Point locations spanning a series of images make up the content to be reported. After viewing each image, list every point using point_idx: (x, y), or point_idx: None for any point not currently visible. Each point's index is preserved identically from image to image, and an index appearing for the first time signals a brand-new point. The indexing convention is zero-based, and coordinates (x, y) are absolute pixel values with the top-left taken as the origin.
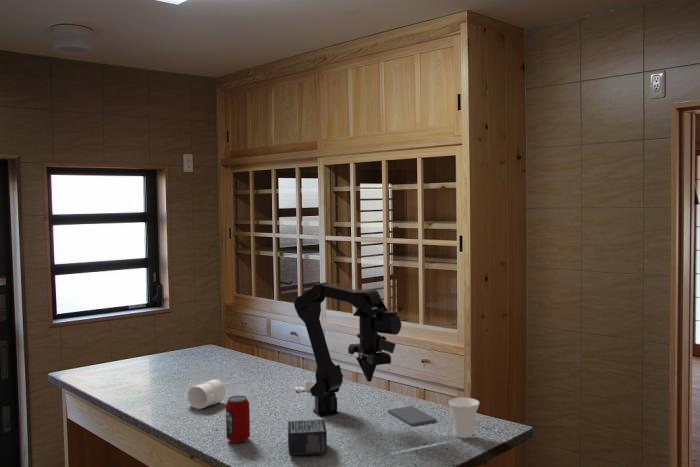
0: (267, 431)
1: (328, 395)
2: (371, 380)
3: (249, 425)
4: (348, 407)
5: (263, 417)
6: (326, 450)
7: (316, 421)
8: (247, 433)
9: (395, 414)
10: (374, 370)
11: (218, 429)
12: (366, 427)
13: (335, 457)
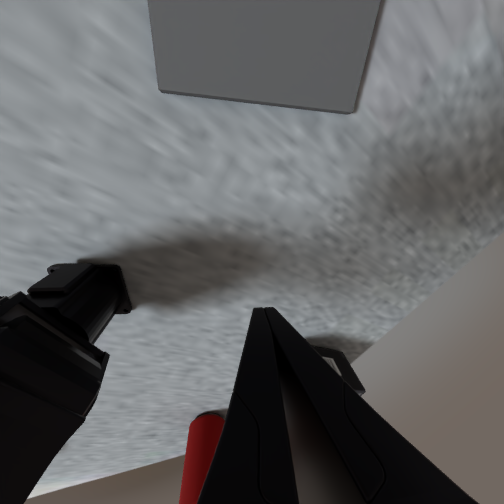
0: (192, 393)
1: (79, 333)
2: (277, 311)
3: (215, 439)
4: (50, 209)
5: (102, 392)
6: (344, 356)
7: None
8: (221, 427)
9: (231, 98)
10: (357, 394)
11: (151, 434)
12: (270, 246)
13: (359, 343)
